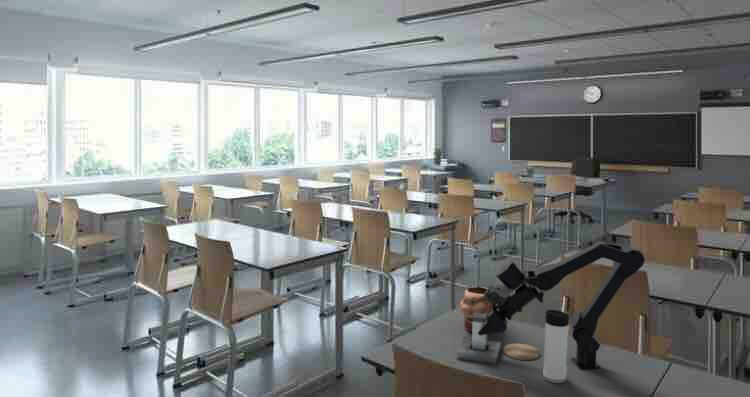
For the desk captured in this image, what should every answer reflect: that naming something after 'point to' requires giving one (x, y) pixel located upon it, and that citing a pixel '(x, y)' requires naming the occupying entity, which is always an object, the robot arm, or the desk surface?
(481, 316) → the grey square bar
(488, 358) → the grey flat square frame
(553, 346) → the travel mug
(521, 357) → the walnut coaster
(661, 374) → the desk surface
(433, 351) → the desk surface
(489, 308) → the decorative planter
